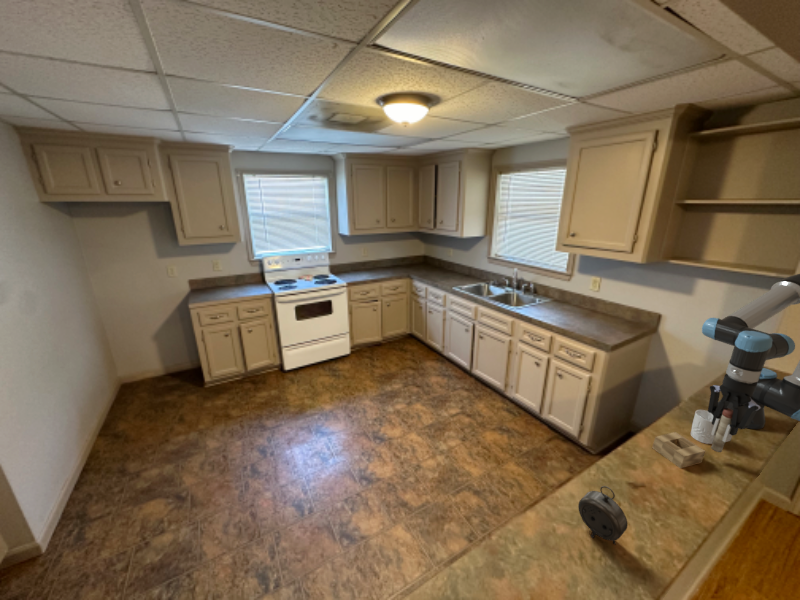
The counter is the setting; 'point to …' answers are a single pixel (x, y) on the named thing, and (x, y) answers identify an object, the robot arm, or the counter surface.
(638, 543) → the counter surface
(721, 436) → the brown-tipped rod
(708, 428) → the white cup
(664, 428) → the counter surface
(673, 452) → the bead block
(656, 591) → the counter surface
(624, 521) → the alarm clock
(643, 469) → the counter surface
